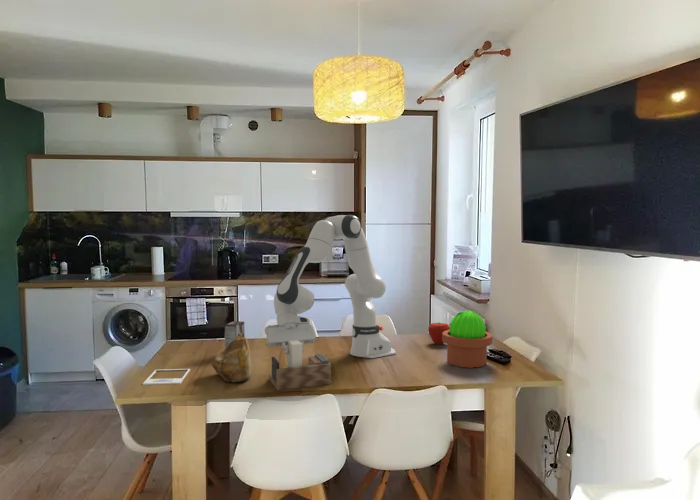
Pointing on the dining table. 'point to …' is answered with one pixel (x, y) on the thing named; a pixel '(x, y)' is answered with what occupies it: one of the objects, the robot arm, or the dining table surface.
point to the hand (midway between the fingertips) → (294, 352)
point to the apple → (437, 331)
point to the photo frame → (165, 381)
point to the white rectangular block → (294, 354)
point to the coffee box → (233, 331)
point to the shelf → (301, 374)
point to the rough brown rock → (234, 361)
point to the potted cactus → (467, 340)
